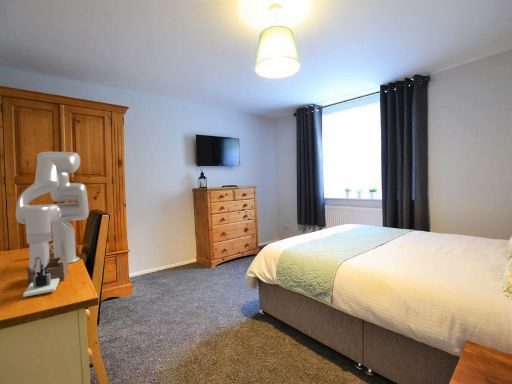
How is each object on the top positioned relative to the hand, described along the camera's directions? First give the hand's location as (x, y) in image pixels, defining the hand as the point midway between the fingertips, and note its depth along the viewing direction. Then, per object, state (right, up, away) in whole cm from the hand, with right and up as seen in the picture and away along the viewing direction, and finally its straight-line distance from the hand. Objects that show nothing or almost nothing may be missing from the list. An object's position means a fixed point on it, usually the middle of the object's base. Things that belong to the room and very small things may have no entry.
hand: (42, 283), depth 104 cm
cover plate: (0, -2, 0) cm, 2 cm away
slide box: (-8, -2, +13) cm, 16 cm away
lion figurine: (-40, -2, +53) cm, 67 cm away
